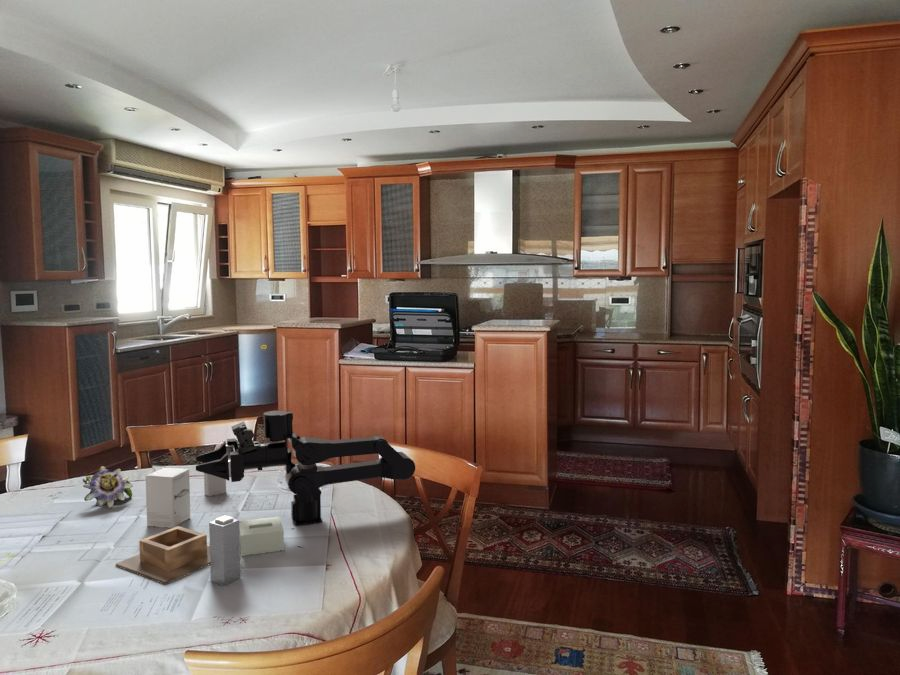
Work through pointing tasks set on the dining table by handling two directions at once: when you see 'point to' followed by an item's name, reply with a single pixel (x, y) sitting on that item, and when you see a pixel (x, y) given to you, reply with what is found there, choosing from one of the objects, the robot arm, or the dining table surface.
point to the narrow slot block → (261, 536)
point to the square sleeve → (170, 555)
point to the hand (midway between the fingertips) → (195, 463)
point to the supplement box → (168, 497)
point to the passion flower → (107, 487)
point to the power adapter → (214, 485)
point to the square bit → (224, 550)
